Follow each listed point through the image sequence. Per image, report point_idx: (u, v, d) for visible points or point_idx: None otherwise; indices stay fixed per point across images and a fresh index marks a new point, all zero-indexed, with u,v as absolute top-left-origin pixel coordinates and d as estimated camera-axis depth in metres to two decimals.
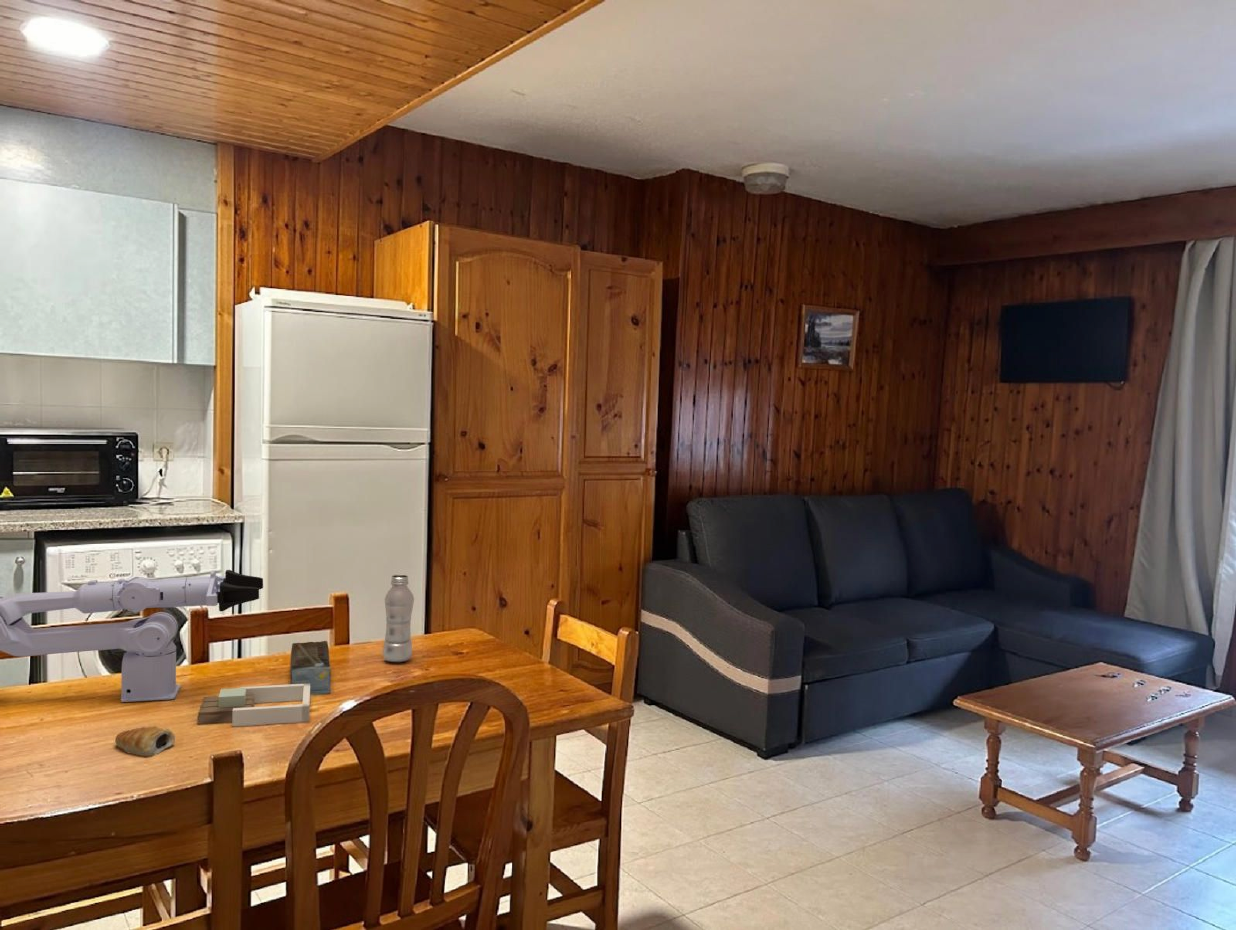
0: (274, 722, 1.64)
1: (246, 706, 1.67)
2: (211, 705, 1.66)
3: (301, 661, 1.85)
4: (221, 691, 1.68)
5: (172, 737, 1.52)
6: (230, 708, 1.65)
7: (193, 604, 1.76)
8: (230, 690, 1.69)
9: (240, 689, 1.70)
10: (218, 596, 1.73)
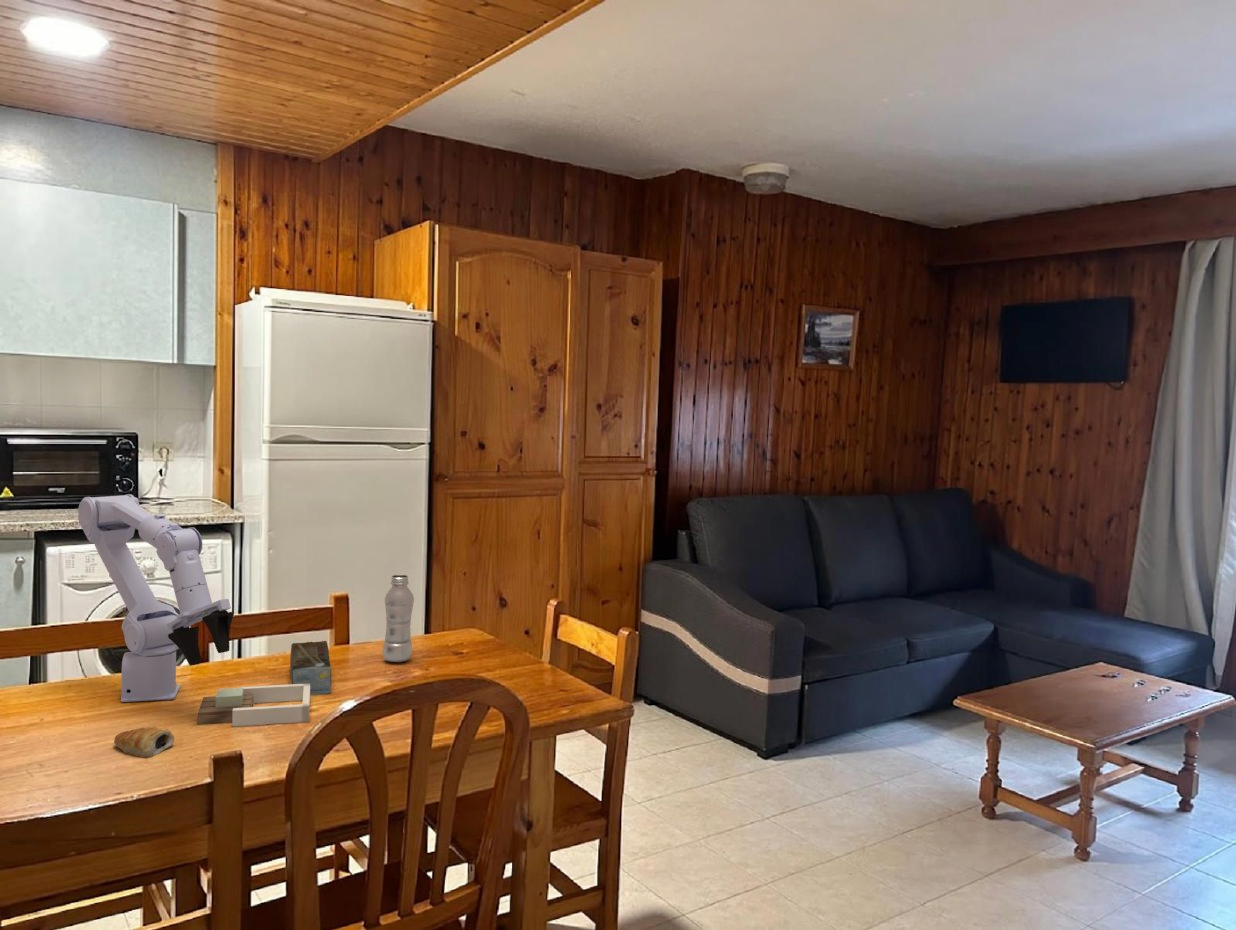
0: (274, 722, 1.64)
1: (245, 706, 1.67)
2: (210, 705, 1.66)
3: (302, 661, 1.85)
4: (218, 691, 1.68)
5: (171, 737, 1.52)
6: (229, 708, 1.65)
7: None
8: (227, 690, 1.69)
9: (237, 689, 1.70)
10: None
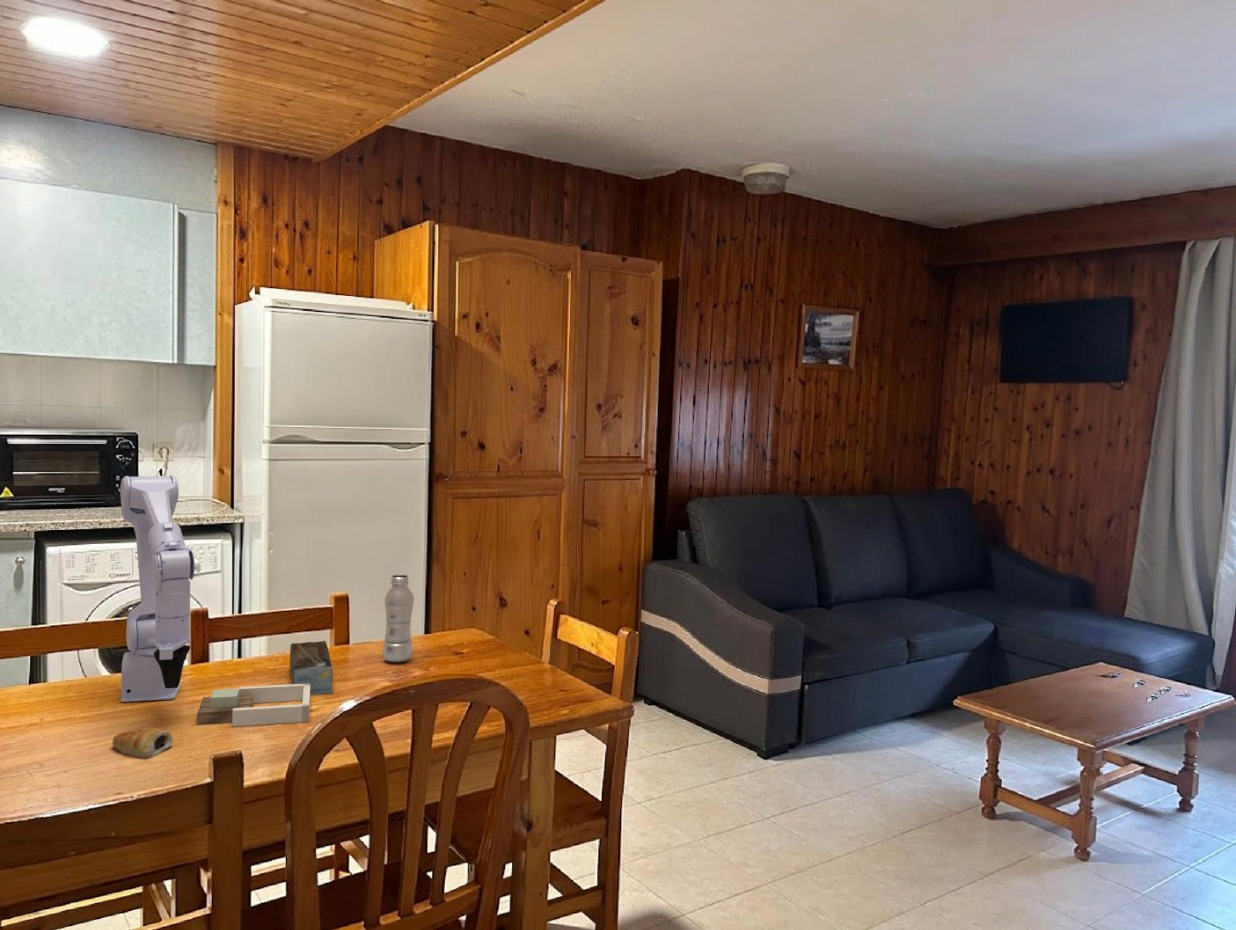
0: (274, 722, 1.64)
1: (245, 706, 1.67)
2: None
3: (302, 661, 1.85)
4: (214, 692, 1.68)
5: (170, 738, 1.52)
6: (229, 708, 1.65)
7: None
8: (223, 691, 1.68)
9: (233, 690, 1.69)
10: None
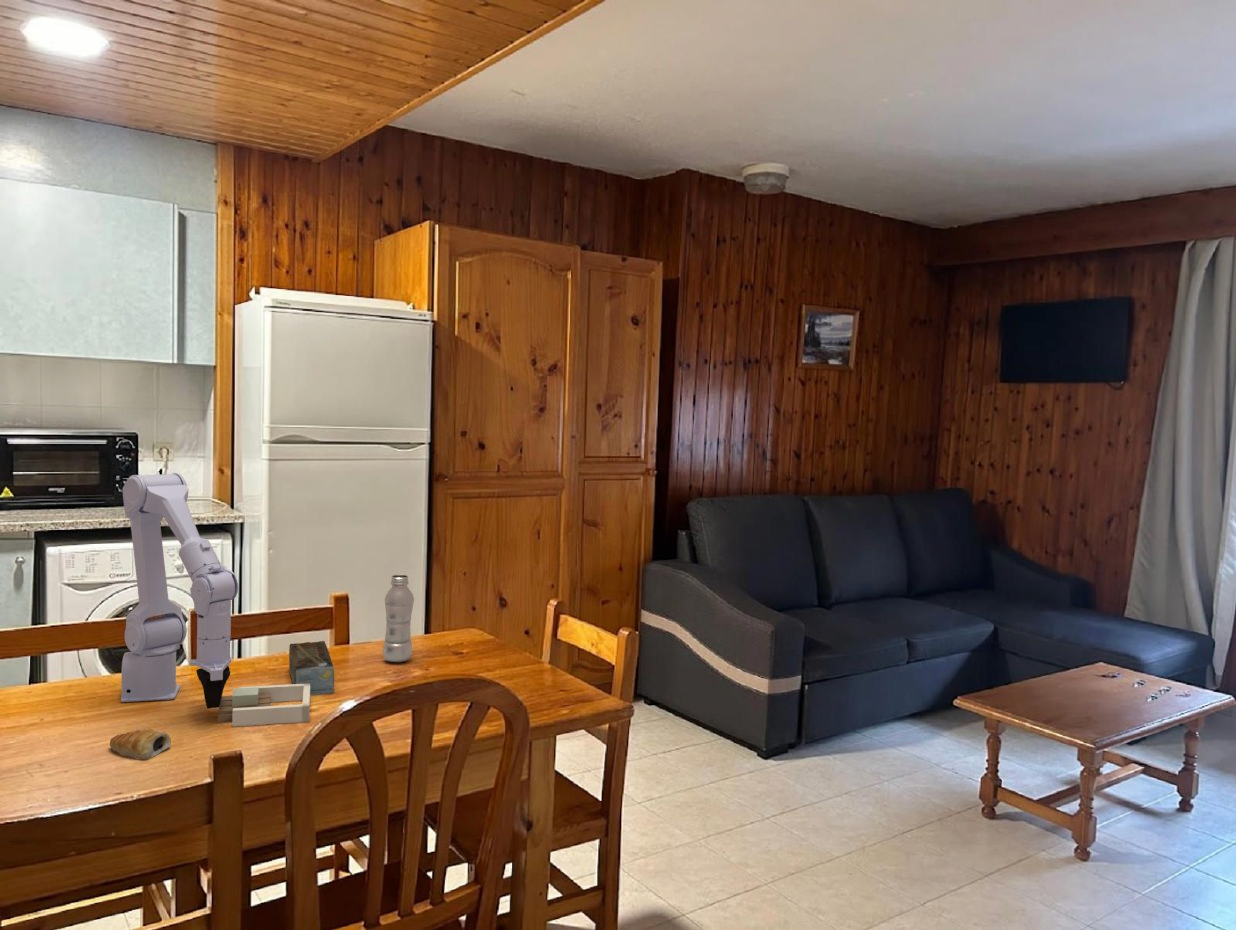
0: (274, 722, 1.64)
1: (265, 704, 1.68)
2: (230, 704, 1.67)
3: (303, 661, 1.85)
4: (234, 690, 1.69)
5: (168, 739, 1.51)
6: None
7: None
8: (243, 689, 1.70)
9: (252, 688, 1.71)
10: None
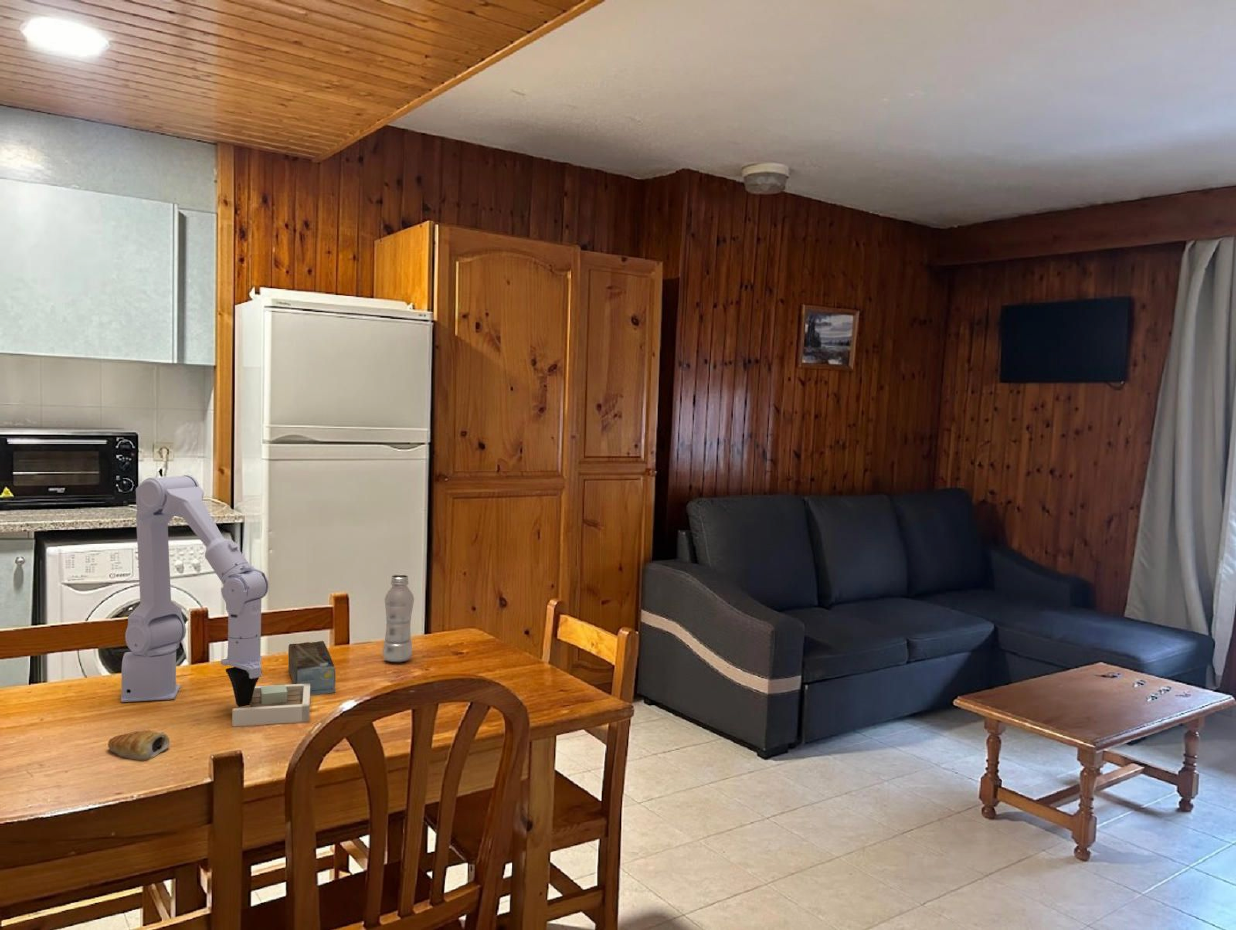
0: (274, 722, 1.64)
1: (295, 701, 1.70)
2: None
3: (304, 661, 1.85)
4: (262, 688, 1.71)
5: (167, 740, 1.51)
6: (280, 703, 1.69)
7: None
8: (270, 687, 1.72)
9: (280, 686, 1.73)
10: None
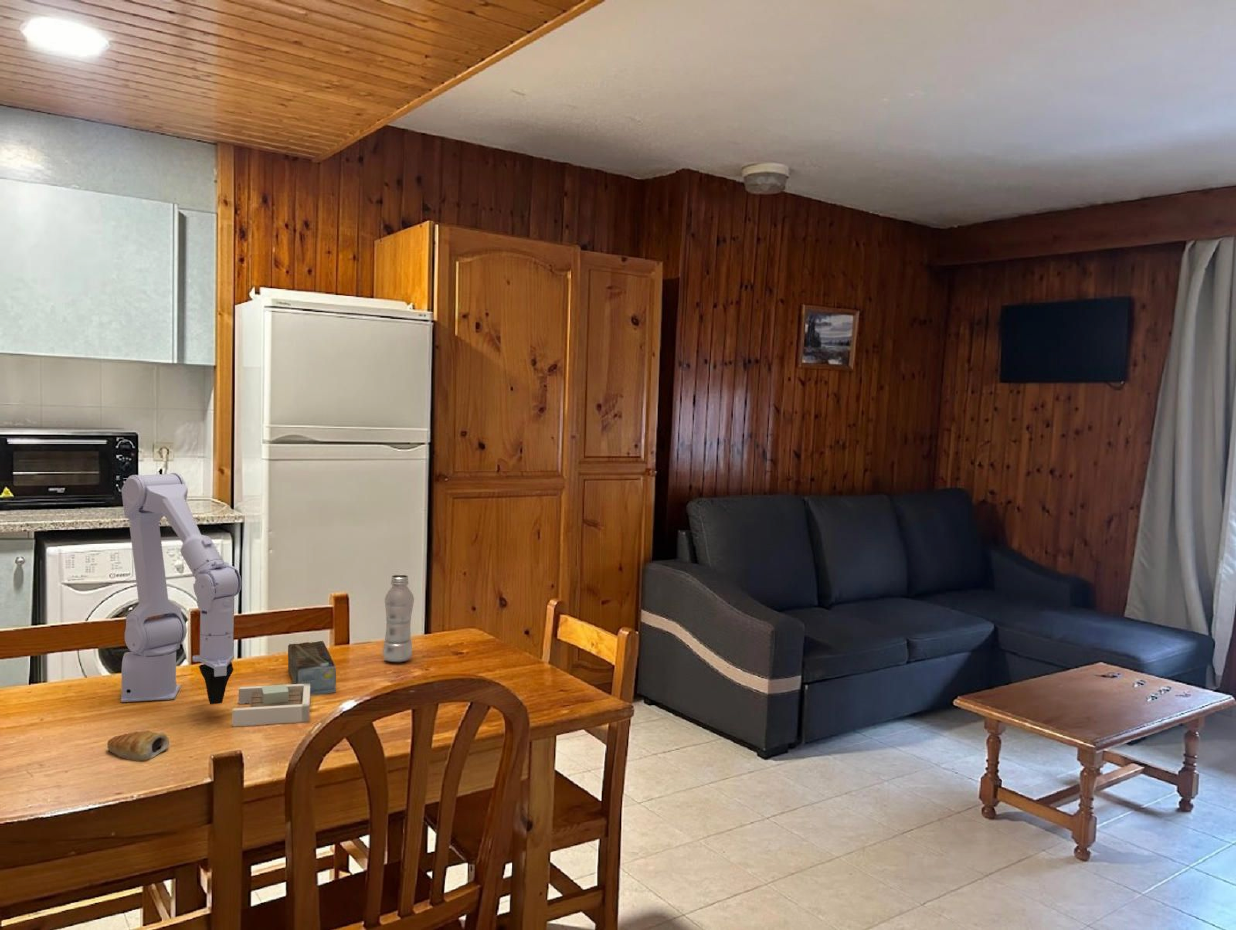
0: (274, 722, 1.64)
1: (296, 702, 1.70)
2: (261, 701, 1.69)
3: (304, 661, 1.85)
4: (263, 688, 1.71)
5: (167, 740, 1.51)
6: (280, 704, 1.69)
7: None
8: (271, 687, 1.72)
9: (281, 686, 1.73)
10: None
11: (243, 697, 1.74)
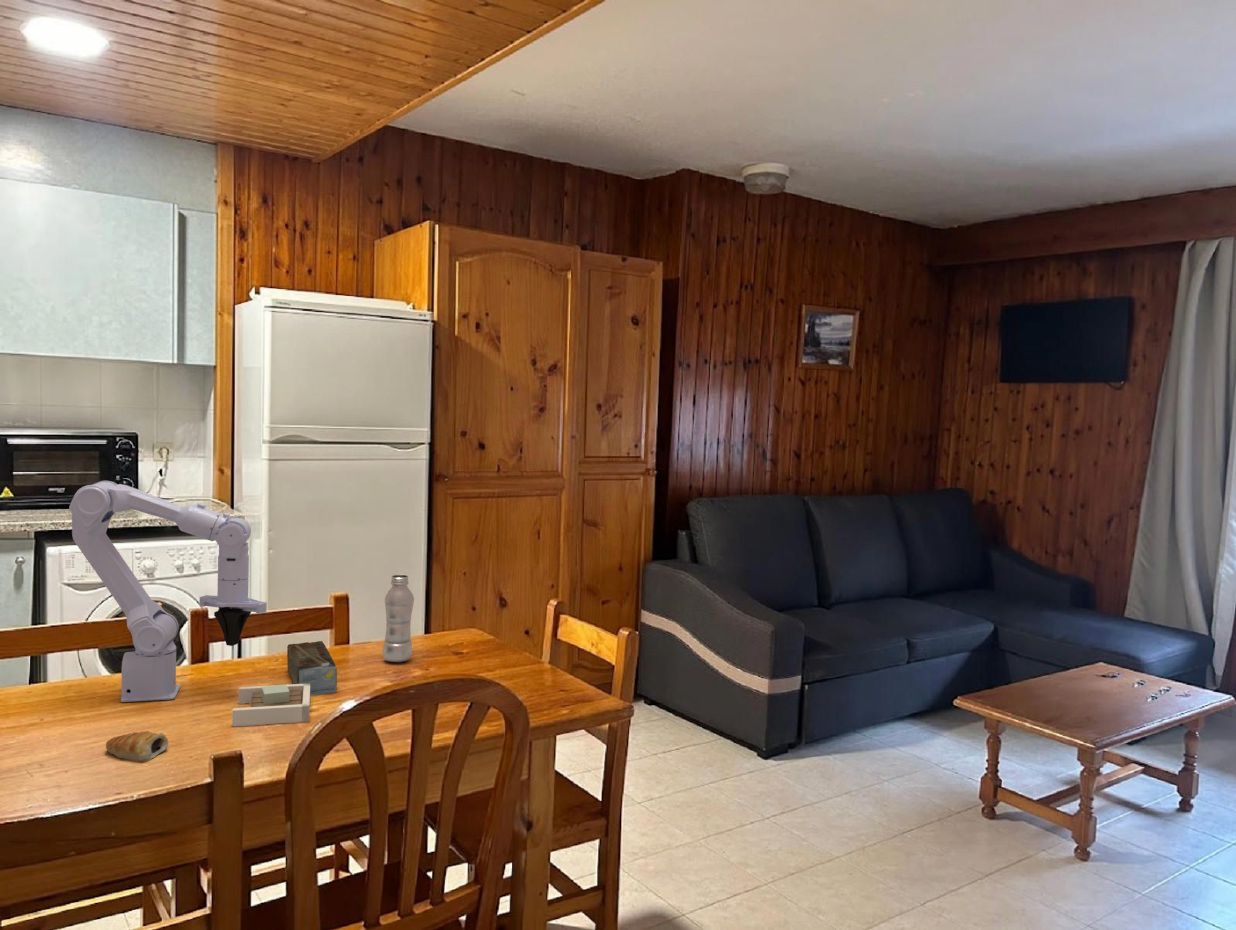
0: (274, 722, 1.64)
1: (296, 702, 1.70)
2: (261, 701, 1.69)
3: (305, 661, 1.85)
4: (263, 688, 1.71)
5: (166, 741, 1.50)
6: (281, 704, 1.69)
7: None
8: (272, 687, 1.72)
9: (281, 686, 1.73)
10: None
11: (243, 697, 1.74)
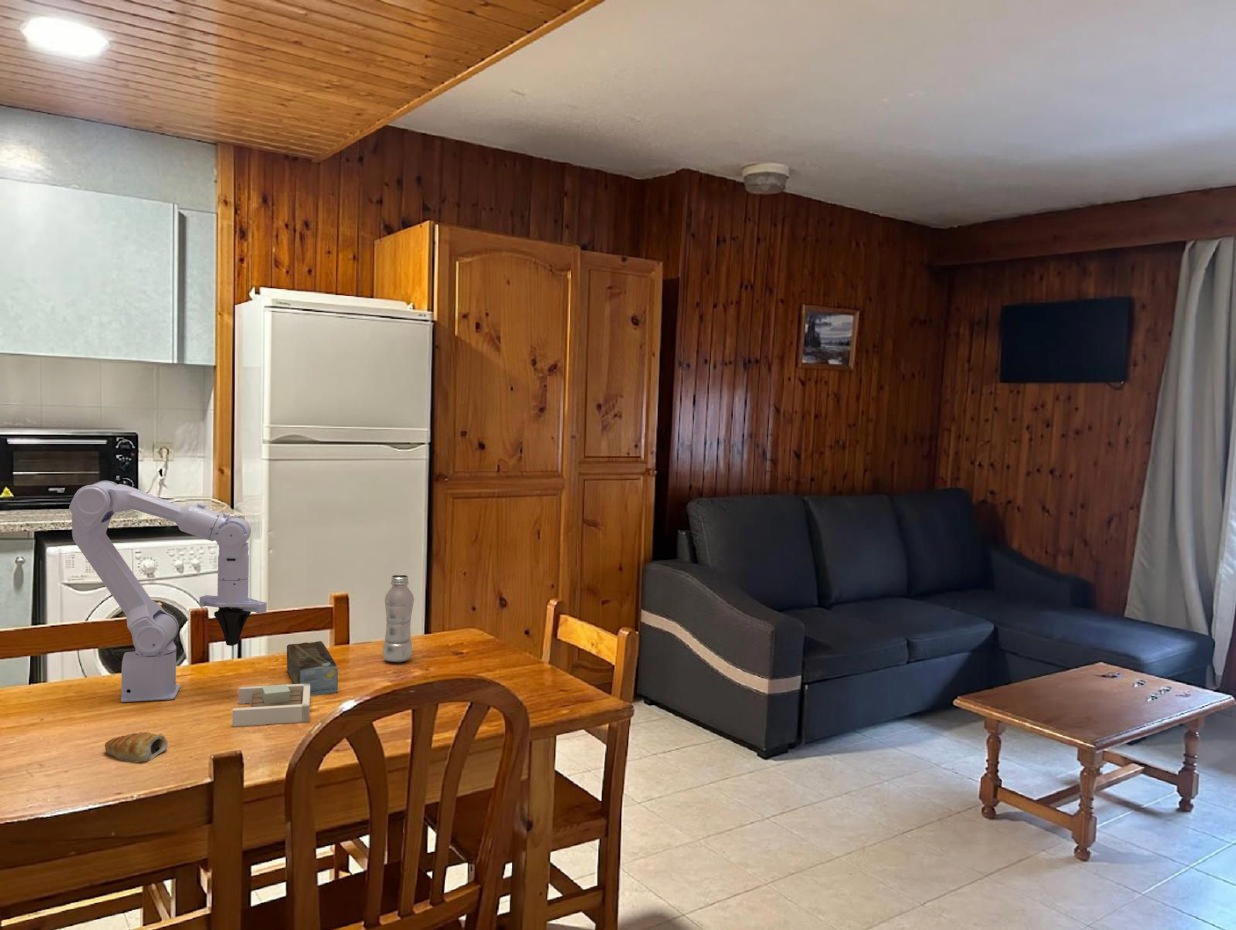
0: (274, 722, 1.64)
1: (296, 702, 1.70)
2: (261, 701, 1.69)
3: (305, 661, 1.85)
4: (264, 688, 1.71)
5: (165, 742, 1.50)
6: (281, 704, 1.69)
7: None
8: (272, 687, 1.72)
9: (281, 685, 1.73)
10: None
11: (243, 697, 1.74)
